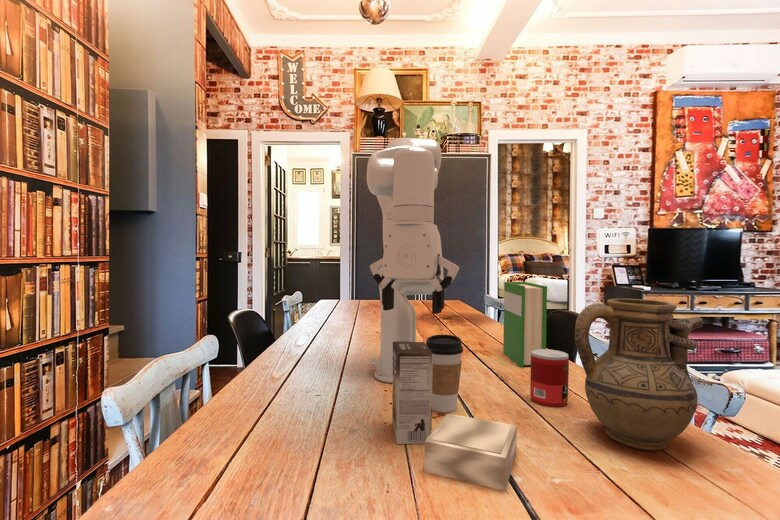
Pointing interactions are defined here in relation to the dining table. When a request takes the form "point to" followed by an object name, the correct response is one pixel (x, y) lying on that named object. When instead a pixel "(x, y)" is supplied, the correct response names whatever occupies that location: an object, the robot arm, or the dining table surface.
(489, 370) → the dining table surface
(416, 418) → the coffee box
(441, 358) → the coffee cup
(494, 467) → the beige square tray
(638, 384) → the decorative pitcher
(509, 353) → the hardback book
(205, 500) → the dining table surface
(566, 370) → the canned food
